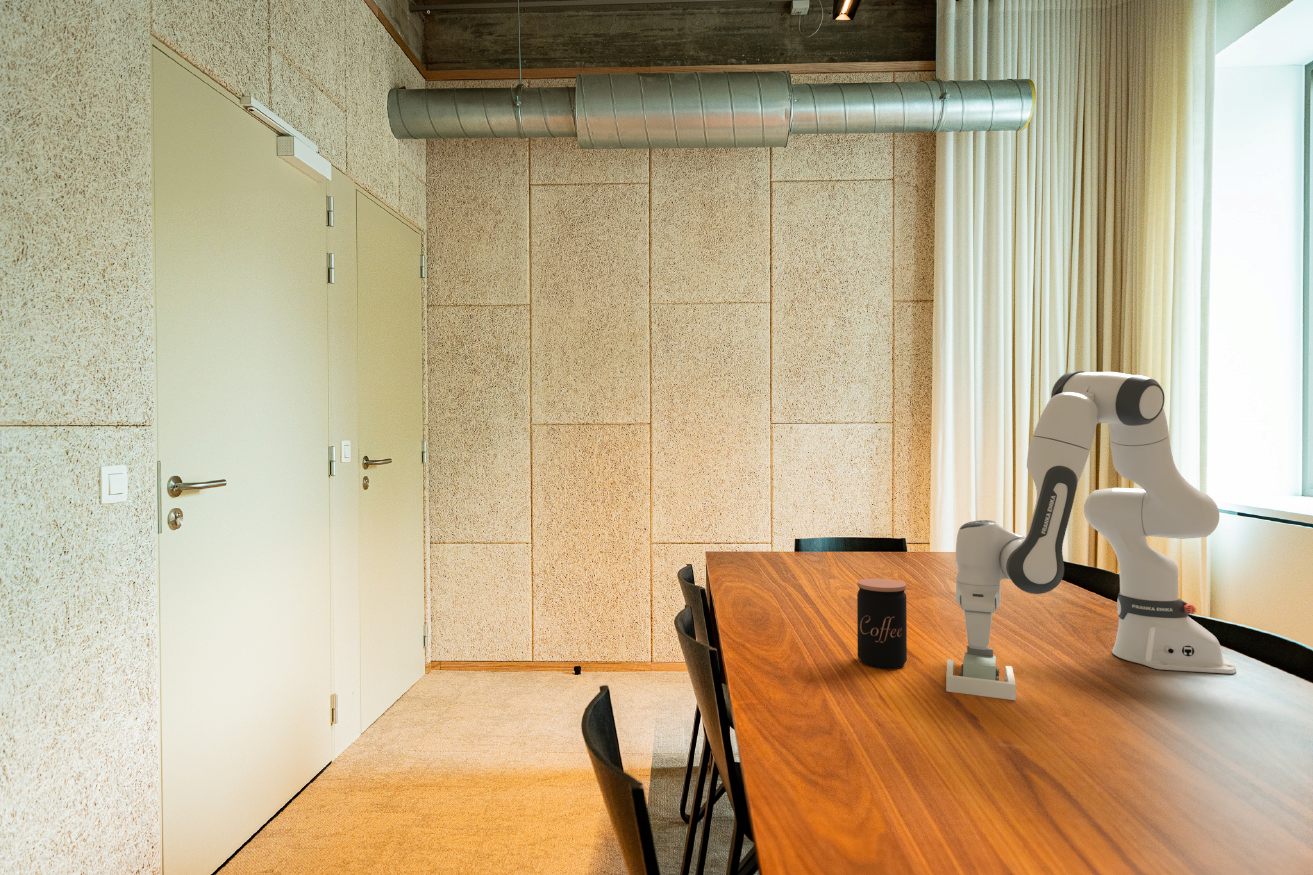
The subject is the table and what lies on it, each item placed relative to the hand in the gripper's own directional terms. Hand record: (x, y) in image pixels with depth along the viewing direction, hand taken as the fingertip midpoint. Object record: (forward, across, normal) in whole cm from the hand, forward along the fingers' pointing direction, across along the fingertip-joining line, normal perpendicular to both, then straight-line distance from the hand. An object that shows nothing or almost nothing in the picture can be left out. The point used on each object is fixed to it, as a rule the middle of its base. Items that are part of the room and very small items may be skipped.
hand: (978, 659), depth 153 cm
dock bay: (+3, +9, 0) cm, 9 cm away
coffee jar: (+3, +2, -20) cm, 20 cm away
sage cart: (+3, +6, 0) cm, 7 cm away
